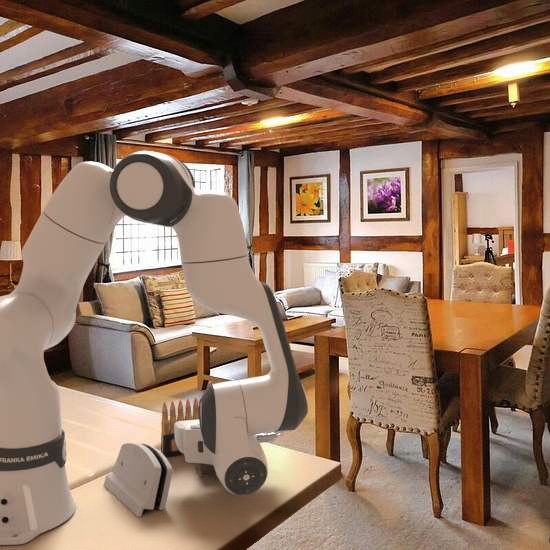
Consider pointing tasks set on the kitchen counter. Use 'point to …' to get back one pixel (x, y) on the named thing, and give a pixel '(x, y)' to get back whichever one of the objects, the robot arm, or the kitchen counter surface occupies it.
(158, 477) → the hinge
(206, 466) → the square nut block
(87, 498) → the kitchen counter surface
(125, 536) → the kitchen counter surface
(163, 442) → the ammunition clip
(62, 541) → the kitchen counter surface
